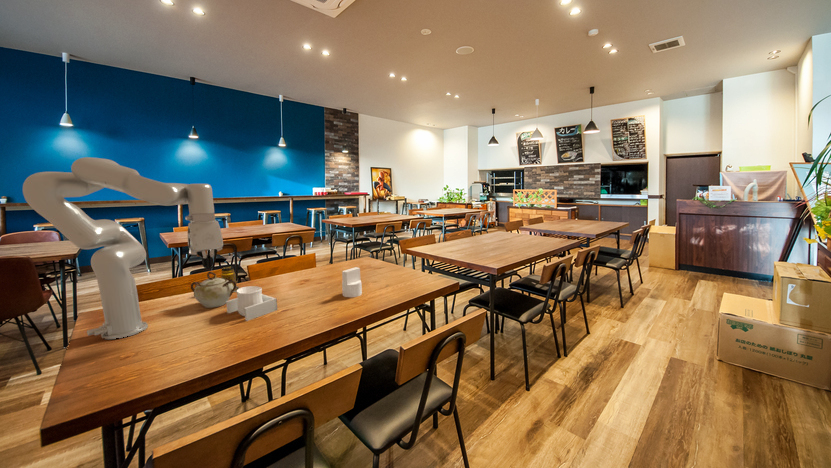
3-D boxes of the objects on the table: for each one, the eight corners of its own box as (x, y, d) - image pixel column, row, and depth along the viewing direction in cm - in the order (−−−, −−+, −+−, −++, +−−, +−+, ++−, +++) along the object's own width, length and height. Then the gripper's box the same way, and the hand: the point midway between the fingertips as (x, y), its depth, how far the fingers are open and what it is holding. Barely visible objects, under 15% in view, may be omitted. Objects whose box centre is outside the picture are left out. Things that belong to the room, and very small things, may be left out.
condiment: (221, 294, 156) (218, 270, 155) (222, 289, 164) (219, 266, 162) (238, 291, 160) (236, 268, 158) (238, 286, 167) (236, 264, 165)
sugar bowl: (181, 311, 135) (176, 276, 133) (203, 298, 150) (200, 267, 148) (228, 310, 135) (224, 276, 133) (246, 298, 150) (243, 266, 148)
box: (246, 321, 125) (245, 308, 124) (227, 312, 133) (226, 301, 132) (277, 309, 135) (276, 298, 134) (257, 303, 144) (256, 292, 143)
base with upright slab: (351, 298, 147) (350, 273, 145) (338, 294, 153) (337, 270, 151) (365, 293, 154) (364, 268, 153) (352, 289, 160) (351, 266, 158)
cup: (253, 317, 128) (250, 294, 126) (231, 315, 130) (229, 292, 129) (268, 308, 137) (266, 286, 136) (248, 306, 139) (246, 285, 138)
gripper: (183, 221, 108) (189, 274, 111) (229, 217, 120) (234, 265, 123) (174, 219, 112) (180, 271, 115) (219, 216, 124) (224, 262, 127)
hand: (208, 267), depth 119 cm, fingers closed
